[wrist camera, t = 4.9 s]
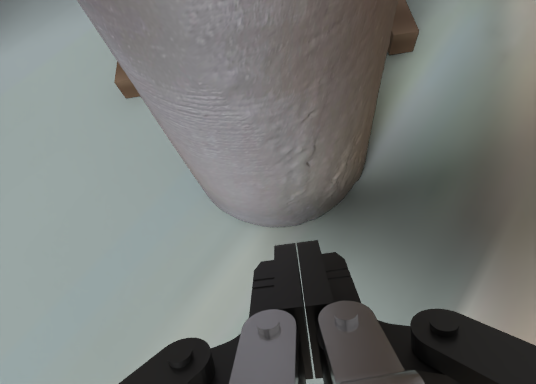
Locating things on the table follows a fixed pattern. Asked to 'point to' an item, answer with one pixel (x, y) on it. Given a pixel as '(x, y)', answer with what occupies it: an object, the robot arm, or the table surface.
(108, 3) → the pillar candle
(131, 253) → the table surface
